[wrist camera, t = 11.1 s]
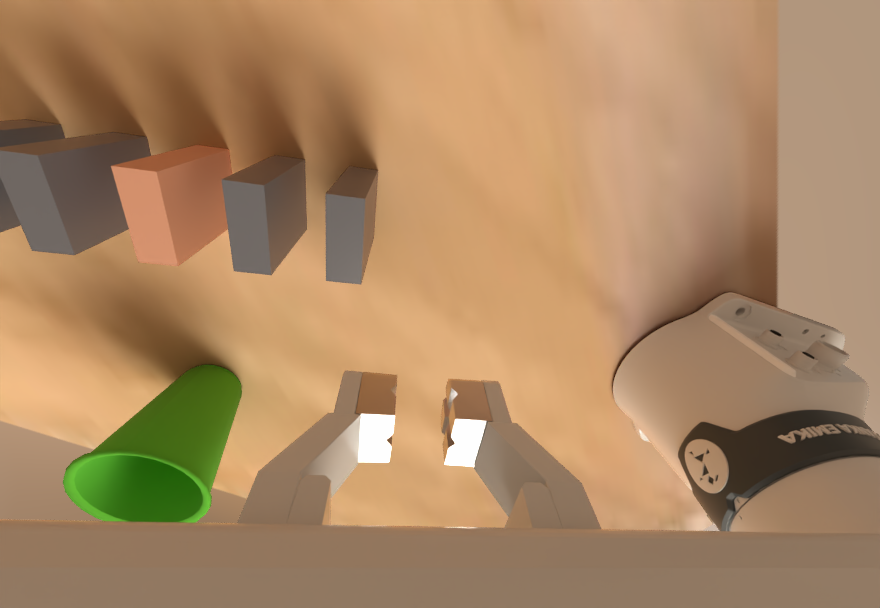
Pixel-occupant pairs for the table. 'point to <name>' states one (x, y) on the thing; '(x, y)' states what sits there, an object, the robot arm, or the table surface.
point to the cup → (161, 454)
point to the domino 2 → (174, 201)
